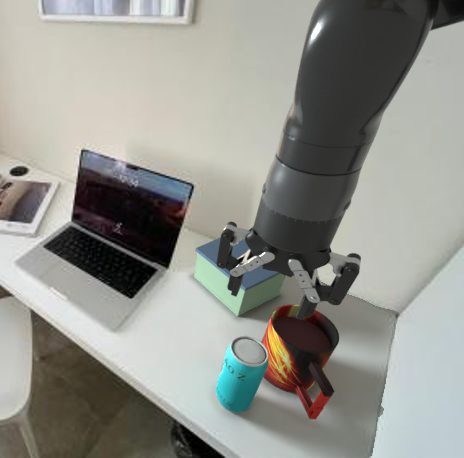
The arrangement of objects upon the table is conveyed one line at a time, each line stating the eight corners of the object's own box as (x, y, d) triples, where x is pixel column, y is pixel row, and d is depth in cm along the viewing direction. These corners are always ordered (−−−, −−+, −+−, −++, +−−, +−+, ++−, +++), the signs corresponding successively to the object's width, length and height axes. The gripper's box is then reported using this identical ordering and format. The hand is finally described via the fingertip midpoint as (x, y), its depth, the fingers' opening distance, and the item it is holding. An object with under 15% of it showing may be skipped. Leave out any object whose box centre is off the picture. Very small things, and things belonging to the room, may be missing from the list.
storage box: (193, 276, 86) (197, 252, 81) (231, 259, 89) (237, 235, 84) (237, 316, 76) (244, 291, 71) (278, 295, 79) (287, 270, 74)
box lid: (195, 250, 82) (195, 247, 81) (234, 233, 85) (235, 230, 84) (244, 291, 71) (245, 288, 70) (287, 270, 74) (288, 267, 74)
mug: (309, 425, 58) (335, 387, 51) (243, 357, 68) (257, 317, 61) (351, 398, 60) (382, 358, 53) (282, 337, 71) (299, 296, 64)
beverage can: (228, 378, 66) (244, 327, 56) (257, 403, 62) (279, 353, 52) (207, 396, 63) (220, 346, 54) (235, 423, 59) (254, 375, 50)
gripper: (393, 195, 35) (335, 304, 45) (239, 167, 43) (218, 266, 53) (391, 238, 31) (327, 349, 41) (220, 198, 38) (201, 300, 48)
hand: (266, 302), depth 47 cm, fingers open, 7 cm apart
